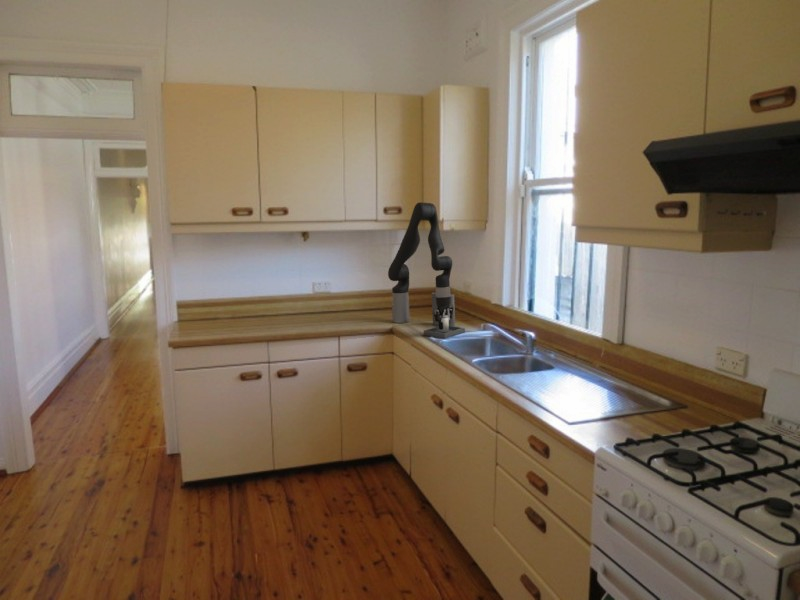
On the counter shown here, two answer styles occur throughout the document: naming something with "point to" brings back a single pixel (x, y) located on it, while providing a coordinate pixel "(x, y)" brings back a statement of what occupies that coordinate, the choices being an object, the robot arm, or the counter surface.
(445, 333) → the tray
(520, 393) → the counter surface
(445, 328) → the shaker
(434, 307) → the hip flask
